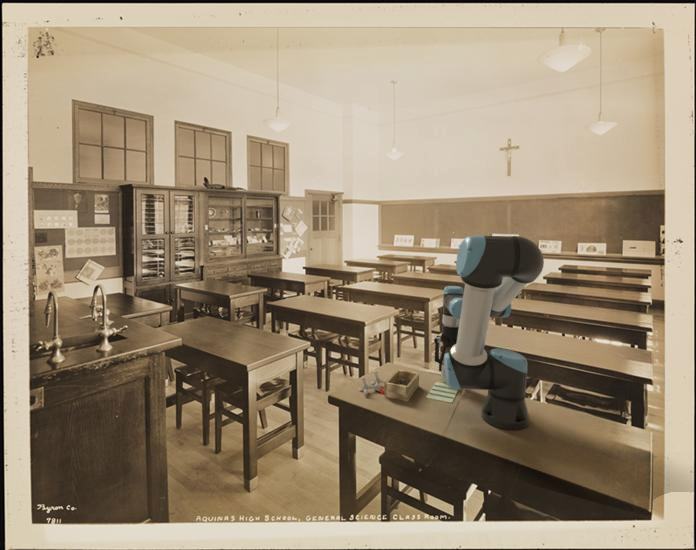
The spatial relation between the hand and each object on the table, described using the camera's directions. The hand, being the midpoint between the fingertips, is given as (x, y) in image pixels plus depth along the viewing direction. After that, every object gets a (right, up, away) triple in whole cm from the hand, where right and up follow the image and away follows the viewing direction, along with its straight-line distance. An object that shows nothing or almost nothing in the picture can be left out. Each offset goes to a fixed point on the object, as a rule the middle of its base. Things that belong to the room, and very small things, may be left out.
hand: (449, 380), depth 166 cm
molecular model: (-31, -3, -8) cm, 32 cm away
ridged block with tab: (-3, -3, -7) cm, 8 cm away
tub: (-20, -3, -9) cm, 22 cm away
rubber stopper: (-20, -1, -5) cm, 20 cm away
